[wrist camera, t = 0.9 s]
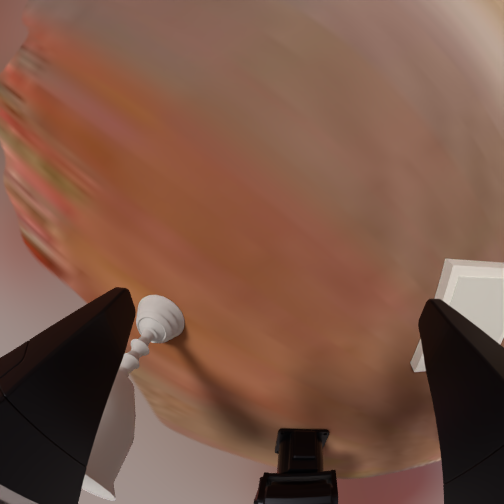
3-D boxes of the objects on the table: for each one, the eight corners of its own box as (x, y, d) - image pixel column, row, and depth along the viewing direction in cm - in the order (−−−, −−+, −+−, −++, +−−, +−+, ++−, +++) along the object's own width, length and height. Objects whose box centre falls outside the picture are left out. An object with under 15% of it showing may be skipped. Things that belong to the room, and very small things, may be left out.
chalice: (209, 330, 26) (137, 505, 10) (163, 354, 28) (89, 495, 12) (157, 271, 25) (26, 424, 8) (117, 304, 27) (8, 430, 10)
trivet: (486, 354, 24) (491, 362, 22) (410, 363, 25) (414, 373, 24) (521, 264, 20) (530, 270, 18) (445, 258, 21) (453, 265, 19)
